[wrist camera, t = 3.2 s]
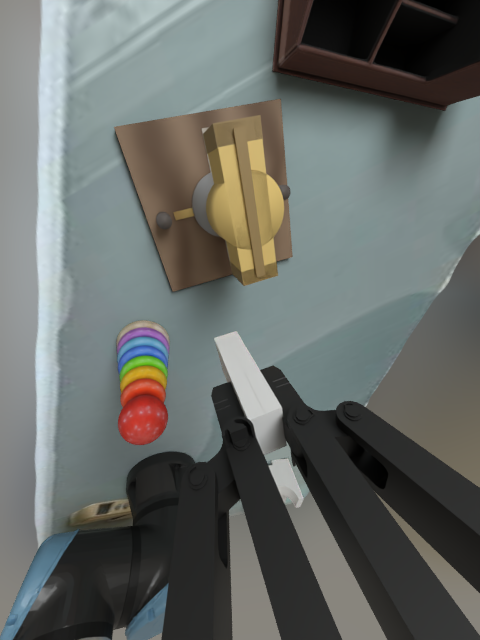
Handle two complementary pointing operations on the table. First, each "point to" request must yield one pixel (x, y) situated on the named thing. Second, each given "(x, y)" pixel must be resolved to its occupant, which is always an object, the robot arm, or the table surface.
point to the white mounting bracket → (286, 481)
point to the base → (195, 187)
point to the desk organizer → (384, 47)
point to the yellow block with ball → (243, 198)
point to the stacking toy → (142, 381)
